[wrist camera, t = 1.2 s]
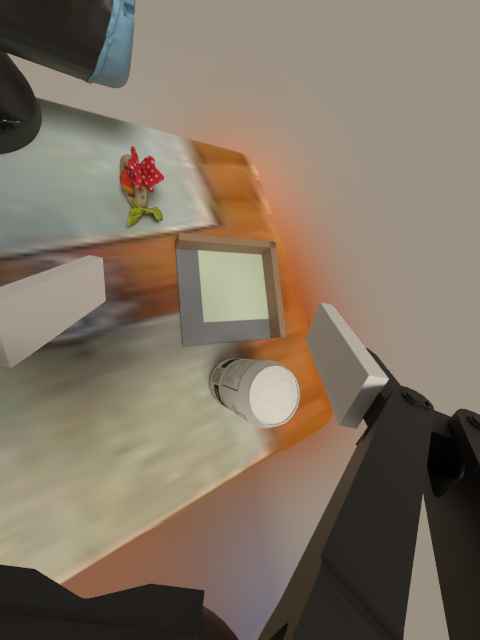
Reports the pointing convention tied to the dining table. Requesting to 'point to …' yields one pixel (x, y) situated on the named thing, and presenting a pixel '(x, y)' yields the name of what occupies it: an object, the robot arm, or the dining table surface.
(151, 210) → the bird rattle
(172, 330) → the dining table surface
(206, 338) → the corner arena
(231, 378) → the supplement can
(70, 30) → the robot arm
